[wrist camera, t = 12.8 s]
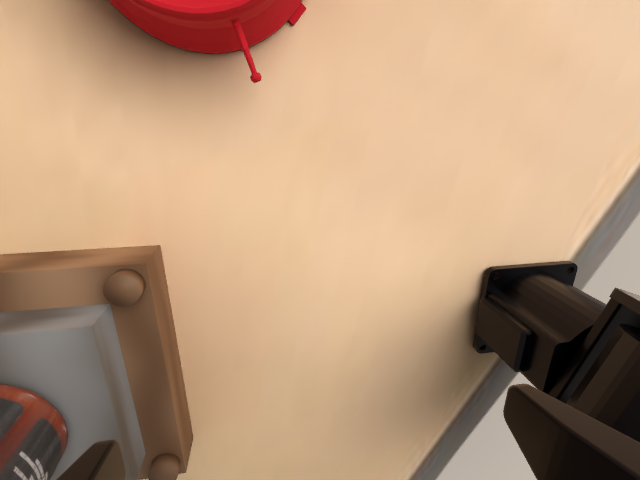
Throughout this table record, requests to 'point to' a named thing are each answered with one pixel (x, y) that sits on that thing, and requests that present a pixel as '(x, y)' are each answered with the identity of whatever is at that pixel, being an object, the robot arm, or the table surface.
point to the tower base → (136, 330)
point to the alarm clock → (212, 22)
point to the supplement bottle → (29, 435)
